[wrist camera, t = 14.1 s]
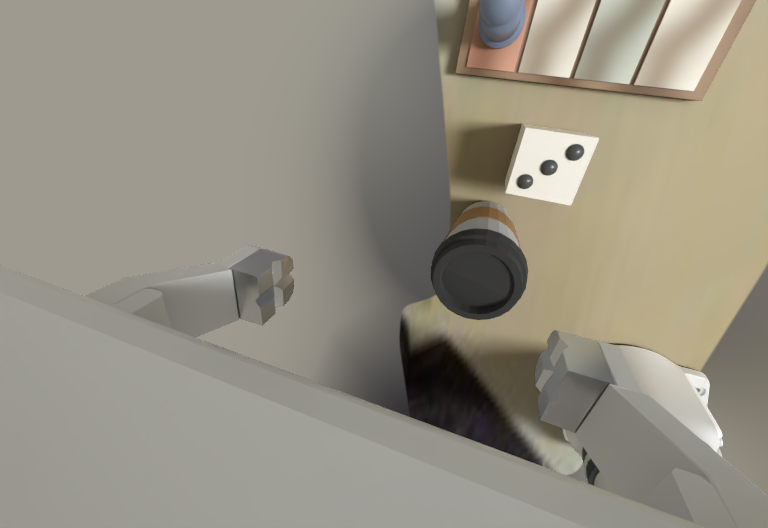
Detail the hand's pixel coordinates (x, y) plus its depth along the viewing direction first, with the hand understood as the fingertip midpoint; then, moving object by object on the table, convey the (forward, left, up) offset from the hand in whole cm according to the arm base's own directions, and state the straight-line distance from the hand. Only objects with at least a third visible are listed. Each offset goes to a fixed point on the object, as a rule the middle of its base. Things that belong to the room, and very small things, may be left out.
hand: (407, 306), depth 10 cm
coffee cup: (-8, +2, -31) cm, 32 cm away
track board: (+6, -12, -31) cm, 34 cm away
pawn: (+10, -6, -30) cm, 32 cm away
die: (-3, -6, -31) cm, 32 cm away
